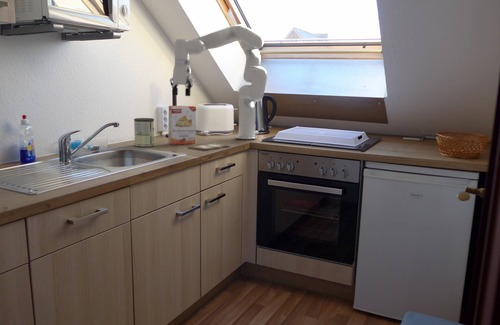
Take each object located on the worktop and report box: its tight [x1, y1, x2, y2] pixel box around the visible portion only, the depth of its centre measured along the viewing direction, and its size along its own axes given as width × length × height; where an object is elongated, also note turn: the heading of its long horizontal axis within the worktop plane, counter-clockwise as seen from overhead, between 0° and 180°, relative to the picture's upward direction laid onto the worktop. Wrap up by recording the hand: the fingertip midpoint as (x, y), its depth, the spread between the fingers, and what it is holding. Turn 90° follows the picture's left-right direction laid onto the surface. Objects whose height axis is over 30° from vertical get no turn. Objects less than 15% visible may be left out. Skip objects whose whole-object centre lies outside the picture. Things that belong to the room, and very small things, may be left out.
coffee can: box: [133, 117, 155, 147], centre depth 238 cm, size 10×10×14 cm
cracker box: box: [167, 105, 197, 146], centre depth 246 cm, size 14×6×21 cm, turn 118°
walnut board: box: [187, 143, 230, 152], centre depth 236 cm, size 19×12×1 cm, turn 143°
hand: (181, 95), depth 243 cm, fingers open, 9 cm apart
